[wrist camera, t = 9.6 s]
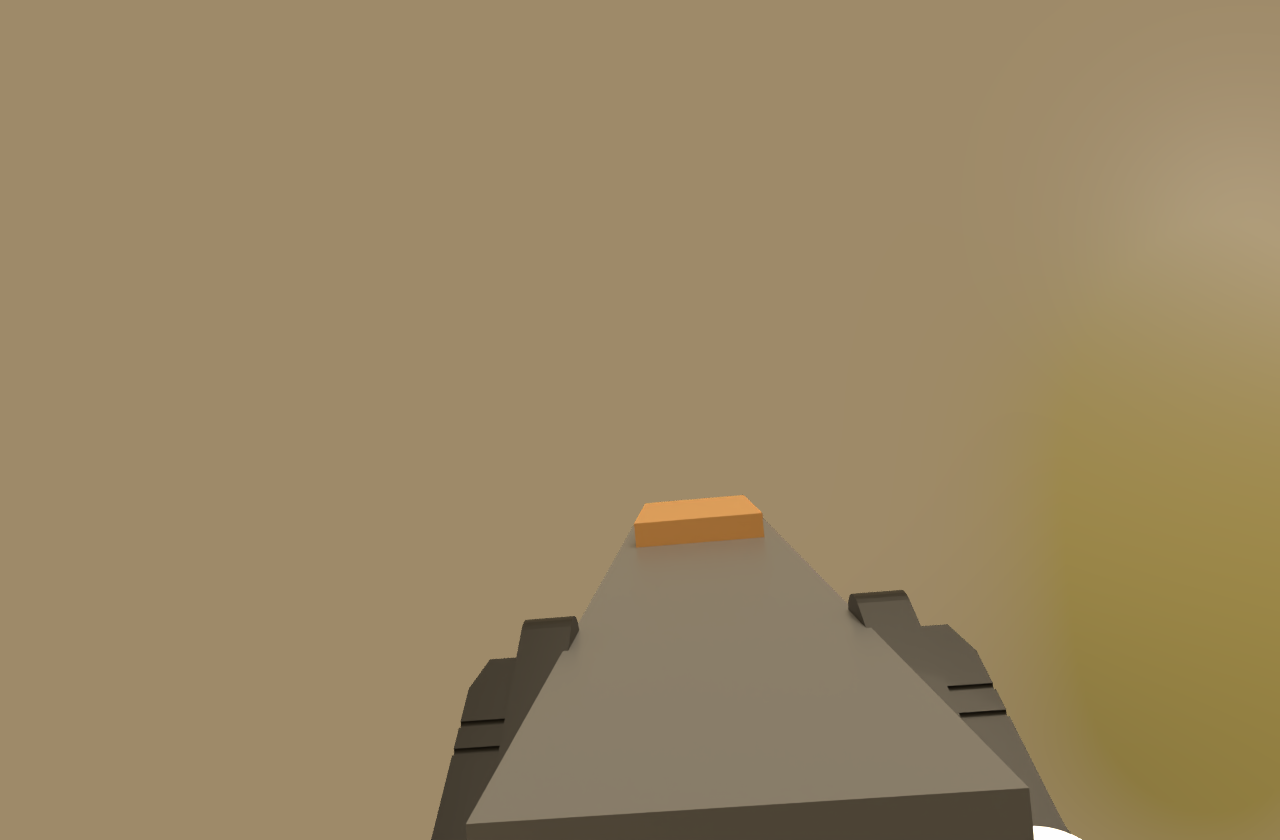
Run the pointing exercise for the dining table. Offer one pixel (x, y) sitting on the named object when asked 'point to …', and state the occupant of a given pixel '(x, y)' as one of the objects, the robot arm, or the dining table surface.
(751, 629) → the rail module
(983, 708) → the robot arm
